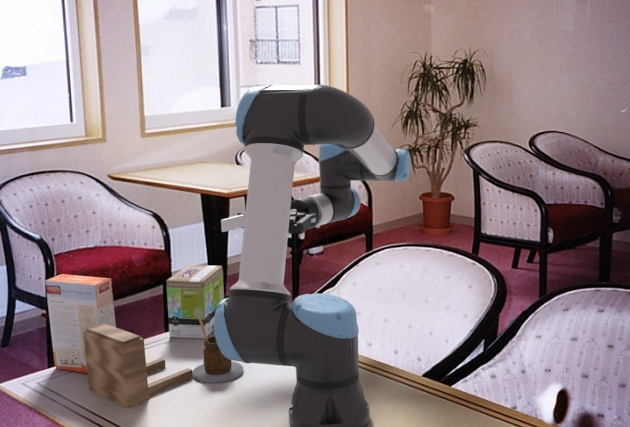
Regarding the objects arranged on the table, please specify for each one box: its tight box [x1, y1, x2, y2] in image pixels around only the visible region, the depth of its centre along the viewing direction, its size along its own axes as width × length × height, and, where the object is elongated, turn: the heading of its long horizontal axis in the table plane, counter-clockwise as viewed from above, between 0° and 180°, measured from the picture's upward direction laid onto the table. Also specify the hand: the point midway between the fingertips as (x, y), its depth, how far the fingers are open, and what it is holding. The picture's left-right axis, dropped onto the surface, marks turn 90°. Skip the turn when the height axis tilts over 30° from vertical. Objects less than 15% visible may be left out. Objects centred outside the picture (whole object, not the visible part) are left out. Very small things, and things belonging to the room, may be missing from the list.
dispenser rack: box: [83, 323, 194, 409], centre depth 171 cm, size 14×18×14 cm
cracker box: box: [45, 273, 117, 374], centre depth 180 cm, size 14×6×21 cm, turn 65°
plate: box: [192, 360, 244, 384], centre depth 176 cm, size 11×11×1 cm
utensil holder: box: [199, 317, 232, 375], centre depth 175 cm, size 6×6×12 cm
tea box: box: [166, 264, 225, 339], centre depth 204 cm, size 15×10×15 cm, turn 168°
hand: (242, 229), depth 177 cm, fingers open, 13 cm apart
